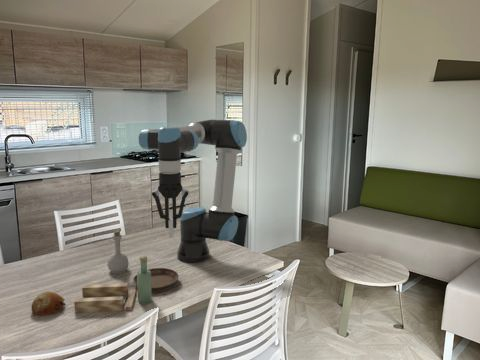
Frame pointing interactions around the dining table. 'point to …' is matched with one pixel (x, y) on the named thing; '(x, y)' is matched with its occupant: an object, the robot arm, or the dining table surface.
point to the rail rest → (104, 298)
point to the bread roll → (47, 304)
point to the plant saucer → (161, 278)
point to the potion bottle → (117, 257)
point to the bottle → (144, 282)
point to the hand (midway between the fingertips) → (171, 236)
